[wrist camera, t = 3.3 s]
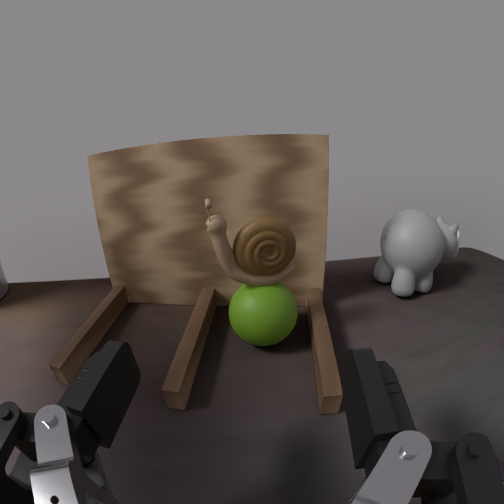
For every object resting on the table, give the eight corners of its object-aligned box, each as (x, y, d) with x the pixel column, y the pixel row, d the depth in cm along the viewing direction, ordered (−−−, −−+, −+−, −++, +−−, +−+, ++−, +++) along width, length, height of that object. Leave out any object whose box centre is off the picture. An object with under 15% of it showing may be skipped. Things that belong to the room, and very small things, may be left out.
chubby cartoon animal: (470, 288, 28) (486, 218, 24) (395, 307, 26) (411, 223, 23) (436, 263, 35) (446, 201, 31) (363, 274, 33) (370, 202, 30)
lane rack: (56, 381, 18) (-17, 186, 12) (122, 294, 31) (95, 153, 25) (343, 412, 16) (388, 139, 10) (319, 297, 29) (325, 134, 23)
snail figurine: (217, 325, 26) (202, 192, 21) (286, 315, 27) (286, 185, 22) (223, 366, 21) (204, 210, 16) (304, 353, 22) (312, 201, 17)
